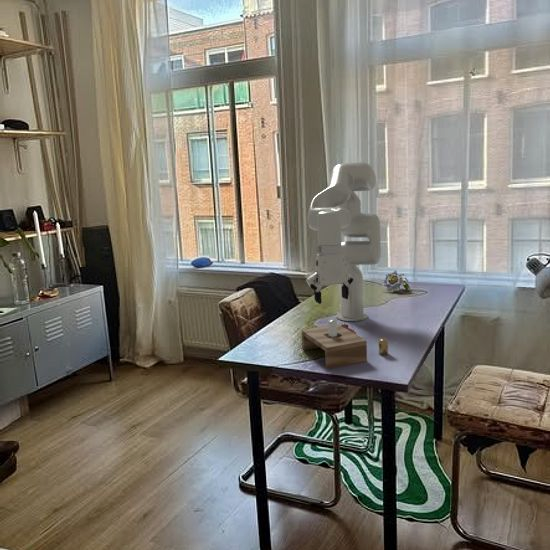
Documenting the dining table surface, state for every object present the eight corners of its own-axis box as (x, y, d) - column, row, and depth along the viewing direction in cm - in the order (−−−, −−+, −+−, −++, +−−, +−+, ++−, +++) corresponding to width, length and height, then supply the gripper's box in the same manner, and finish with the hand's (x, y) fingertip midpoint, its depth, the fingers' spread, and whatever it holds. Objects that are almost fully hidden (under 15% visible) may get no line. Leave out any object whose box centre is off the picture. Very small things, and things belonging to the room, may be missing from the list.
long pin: (327, 354, 178) (326, 320, 176) (335, 352, 179) (334, 318, 177) (331, 357, 175) (330, 322, 173) (339, 355, 176) (338, 321, 174)
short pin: (377, 353, 177) (376, 339, 176) (384, 351, 178) (384, 337, 177) (381, 356, 174) (381, 341, 173) (389, 354, 175) (389, 340, 174)
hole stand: (302, 349, 184) (301, 330, 183) (338, 342, 189) (337, 323, 187) (327, 368, 166) (326, 347, 164) (366, 361, 170) (366, 340, 169)
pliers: (355, 324, 210) (354, 318, 209) (356, 341, 190) (356, 334, 190) (326, 325, 211) (325, 318, 211) (325, 342, 192) (324, 335, 191)
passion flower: (392, 303, 255) (377, 284, 253) (395, 293, 264) (381, 275, 263) (412, 292, 249) (396, 272, 248) (414, 282, 258) (399, 263, 257)
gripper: (310, 254, 164) (312, 307, 168) (359, 247, 169) (360, 299, 173) (300, 250, 171) (303, 301, 174) (348, 244, 176) (349, 294, 180)
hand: (331, 300), depth 174 cm, fingers open, 9 cm apart
